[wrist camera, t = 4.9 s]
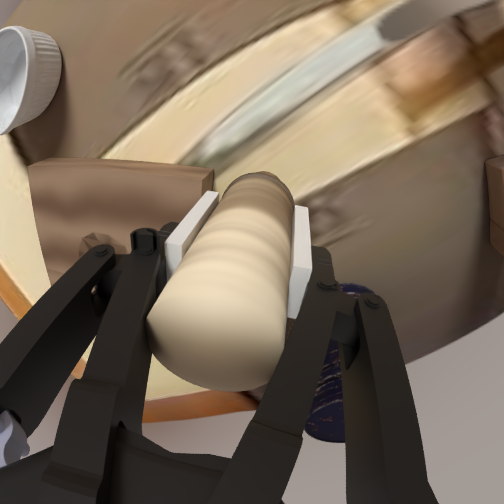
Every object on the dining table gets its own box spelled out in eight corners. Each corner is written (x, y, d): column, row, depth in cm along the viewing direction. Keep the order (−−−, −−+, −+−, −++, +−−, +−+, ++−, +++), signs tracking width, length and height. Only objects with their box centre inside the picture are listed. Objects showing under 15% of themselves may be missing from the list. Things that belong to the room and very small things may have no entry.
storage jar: (354, 349, 37) (365, 446, 24) (290, 329, 37) (283, 435, 24) (396, 297, 32) (431, 400, 19) (328, 270, 32) (342, 383, 19)
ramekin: (7, 129, 27) (-29, 142, 21) (11, 43, 20) (-26, 45, 14) (68, 120, 26) (26, 131, 20) (76, 16, 20) (35, 9, 14)
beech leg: (236, 155, 22) (132, 277, 8) (299, 165, 21) (303, 311, 8) (230, 212, 24) (150, 374, 10) (288, 222, 24) (271, 402, 10)
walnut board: (48, 157, 29) (27, 166, 25) (213, 168, 28) (202, 180, 24) (73, 296, 40) (59, 312, 36) (204, 331, 39) (196, 353, 35)
